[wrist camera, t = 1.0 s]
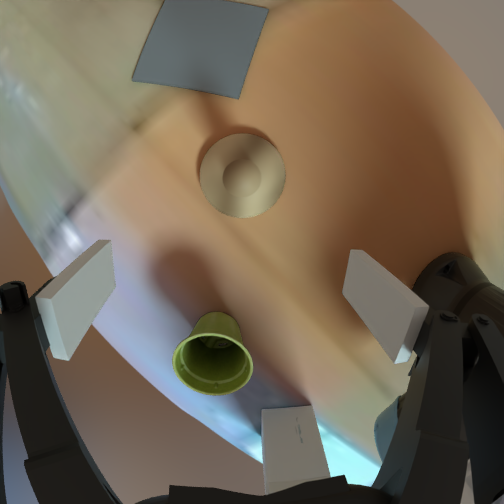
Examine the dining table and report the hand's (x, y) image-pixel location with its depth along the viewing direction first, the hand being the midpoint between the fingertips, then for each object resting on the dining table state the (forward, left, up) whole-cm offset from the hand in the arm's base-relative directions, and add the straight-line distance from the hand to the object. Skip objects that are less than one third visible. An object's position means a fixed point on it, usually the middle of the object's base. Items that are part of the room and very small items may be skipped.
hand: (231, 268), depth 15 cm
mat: (+11, -20, -21) cm, 31 cm away
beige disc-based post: (+1, -4, -21) cm, 22 cm away
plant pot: (-1, +17, -21) cm, 27 cm away
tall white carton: (-17, +34, -21) cm, 43 cm away
